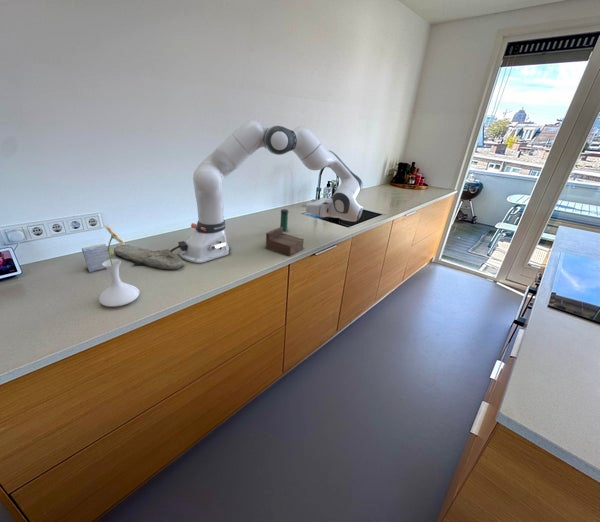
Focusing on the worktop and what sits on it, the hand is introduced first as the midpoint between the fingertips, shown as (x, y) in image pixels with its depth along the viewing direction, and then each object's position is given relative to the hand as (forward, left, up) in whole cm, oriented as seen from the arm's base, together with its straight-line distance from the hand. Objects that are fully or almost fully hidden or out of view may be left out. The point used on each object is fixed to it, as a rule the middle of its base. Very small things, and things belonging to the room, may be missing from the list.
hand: (307, 202), depth 151 cm
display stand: (-21, -1, -19) cm, 28 cm away
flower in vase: (-91, +17, -19) cm, 95 cm away
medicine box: (-84, +44, -19) cm, 97 cm away
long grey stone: (-69, +36, -19) cm, 80 cm away
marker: (0, +14, -19) cm, 24 cm away
